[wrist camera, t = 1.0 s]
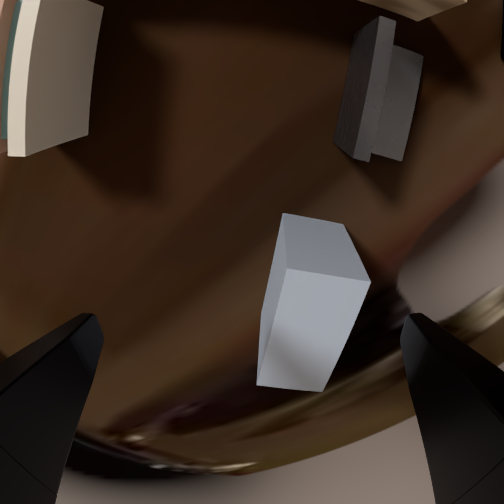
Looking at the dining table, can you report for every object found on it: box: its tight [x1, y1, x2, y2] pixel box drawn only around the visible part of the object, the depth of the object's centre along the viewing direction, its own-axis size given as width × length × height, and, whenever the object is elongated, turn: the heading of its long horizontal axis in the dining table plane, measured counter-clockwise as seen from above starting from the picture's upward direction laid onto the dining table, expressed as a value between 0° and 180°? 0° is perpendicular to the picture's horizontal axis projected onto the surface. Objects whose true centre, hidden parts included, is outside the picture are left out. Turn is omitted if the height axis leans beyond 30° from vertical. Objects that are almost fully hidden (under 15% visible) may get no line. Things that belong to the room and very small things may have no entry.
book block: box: [0, 0, 104, 157], centre depth 13 cm, size 4×9×7 cm, turn 171°
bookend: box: [333, 16, 424, 162], centre depth 14 cm, size 4×7×5 cm, turn 171°
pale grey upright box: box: [257, 213, 371, 392], centre depth 19 cm, size 4×8×7 cm, turn 171°
